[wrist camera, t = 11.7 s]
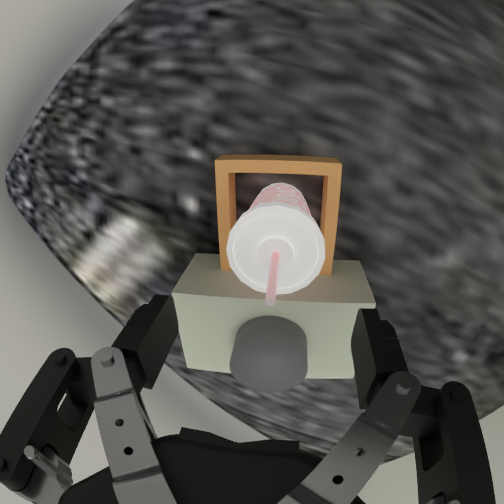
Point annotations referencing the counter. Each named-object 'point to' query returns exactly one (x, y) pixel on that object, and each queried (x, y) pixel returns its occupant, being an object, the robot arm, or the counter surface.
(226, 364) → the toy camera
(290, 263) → the beverage cup
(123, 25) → the counter surface
